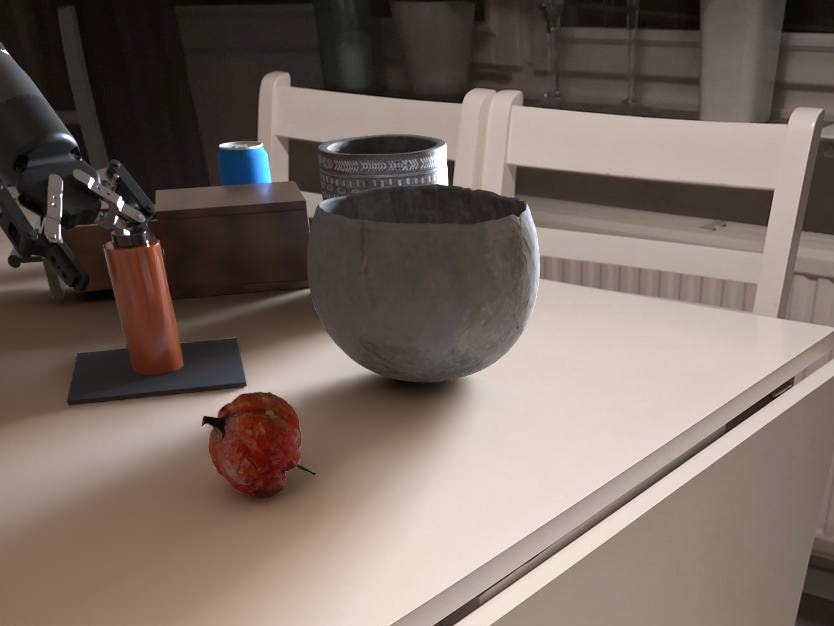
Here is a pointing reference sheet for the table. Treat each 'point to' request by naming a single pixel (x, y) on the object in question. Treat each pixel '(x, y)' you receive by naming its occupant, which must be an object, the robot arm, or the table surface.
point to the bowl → (423, 278)
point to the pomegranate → (255, 443)
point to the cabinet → (234, 238)
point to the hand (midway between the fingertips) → (123, 275)
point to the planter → (380, 163)
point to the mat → (115, 379)
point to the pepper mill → (143, 301)
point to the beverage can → (243, 163)
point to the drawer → (82, 255)
